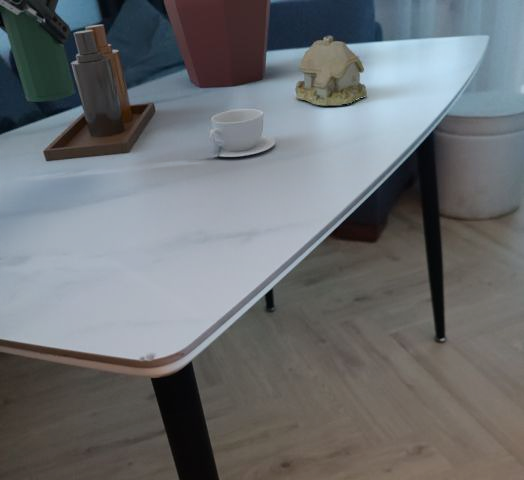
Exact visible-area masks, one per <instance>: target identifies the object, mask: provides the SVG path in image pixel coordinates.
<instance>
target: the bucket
mask: <svg viewBox="0 0 524 480" xmlns="http://www.w3.org/2000/svg"><path fill="white" fill-rule="evenodd" d="M163 4H164V7H165V11H166V13H167V16H168V19H169V22H170V24H171V28H172V31H173V34H174V37H175V40H176V43H177V45H178V49H179V51H180V55H181V57H182V61H183V63H184V66H185V69H186V72H187V76H188V78H189V81H190V83H191V84H192V85H194V86H196V87H197V88H199V89H203V88H227V87H236V86H240V85H244V84H248V82H249V83H252V81H253V82H257V81H260V80H259V79H262V78H263V79H264V76H265V74H266V67H267V66H266V64H267V52H268V39H269V27H270V26H269V25H270V13H271V11H270V10H271V0H163ZM264 73H265V74H264ZM263 79H262V80H263ZM256 80H257V81H256Z"/></svg>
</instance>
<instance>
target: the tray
mask: <svg viewBox="0 0 524 480" xmlns="http://www.w3.org/2000/svg"><path fill="white" fill-rule="evenodd" d="M130 105H131V110H132V114H133V120H132V121H130V122H127V123H124V124H125V128H126V129H125V131H123V132H121V133H119V134H116V135H111V136H106V137H92V136H90V134H89V130H88V126H87V122H86V119H85V115H84V112H82V113H81V115H79V116H78V117H77V118H76V119H75V120H74V121H73V122H72V123H71V124H70V125H69V126H68V127H67V128H65V130H63V131H62V132H61V133H60V134H59V135H58V136H57V137H56V138H54V140H53V141H52V142H51V143H49V144H48V145H47V146H46V147H45V148H44V150H43V151H42V152H43V155H44V160H45V161H46V162H53V161H62V160H63V161H65V160H72V159H73V160H74V159H83V158H94V157H103V156H112V155H113V156H114V155H123V154H129V153H130V152H131V150H132V149H133V147H134V145H135V144H136V142H137V141H138V139H139V138H140V137H141V135H142V133H143V132H144V130H145V129H146V127H147V126H148V124H149V123H150V121H151V119H152V118H153V116H154V115H155V113H156V106H155V102H147V103H146V102H145V103H137V104H130Z"/></svg>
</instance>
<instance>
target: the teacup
mask: <svg viewBox="0 0 524 480" xmlns="http://www.w3.org/2000/svg"><path fill="white" fill-rule="evenodd" d="M210 120H211V125H212V129H210V130H209V133H208V137H209V140H210V143H211V144H213V145H215V146H219V148H218V152H217V157H221V158H235V157H236V158H237V157H244V156H251V155H255V154H259V153H262V152H265V151H267V150H269V149H271V148H272V147H274V146H275V144H276V141H275V140H274V138H272V137H269V136H265V135H264V136H262V135H263V131H264V112H263V111H262V110H260V109H257V108H239V109H231V110H226V111H223V112H219V113H216V114H214V115H213V116H212V117H211V118H210ZM215 138H216V139H217V141H216V139H215Z"/></svg>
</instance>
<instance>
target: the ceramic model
mask: <svg viewBox="0 0 524 480" xmlns="http://www.w3.org/2000/svg"><path fill="white" fill-rule="evenodd" d="M299 71H300V72H301V73H302V74H303V80H299V81H298V82H296V84H295V89H294V90H295V96H296V99H298V100H302V101H306V102H308V103H311V104H313V105H318V106H343V105H342V104H347V105H349V104H348V103H351V104H353V103H354V102H356V101H355V100H356V99H358V98H361V97H364V96H366V97H367V90H366V85H365V84H363V83H361V82H360V81H361V73H364V71H365V68H364V64H363V62H362V60H361V59H360V58H359V56H358V55H357V54H355V53H354V52H353V51H352V50H351V49H350V48H349V46H347V44H346V42H343V41H338V40H334V37H333V35H325V36H324V37H323V40H322V39H318V40H316V41H313V44H311V46H310V47H309V48H308V49H307V50H305V51H304V54H303V56H302V58H301V60H300V64H299ZM353 101H354V102H353ZM352 102H353V103H352Z"/></svg>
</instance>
